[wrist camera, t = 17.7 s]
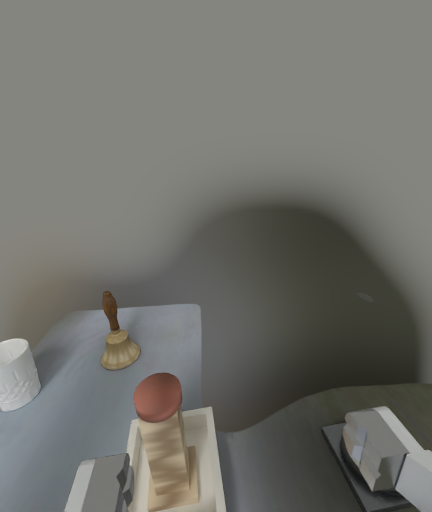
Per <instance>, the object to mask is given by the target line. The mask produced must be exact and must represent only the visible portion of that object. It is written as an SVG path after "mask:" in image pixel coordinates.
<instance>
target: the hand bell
mask: <svg viewBox="0 0 432 512" xmlns="http://www.w3.org/2000/svg"><path fill="white" fill-rule="evenodd" d="M102 304H103V310H104V312H105V315H106V316H107V318H108V319H109V322H110V328H111V333H109V334H108V335H107V337H106V351H105V352H104V353H103V355H102V357H101V364H102V366H103V367H104V368H106V369H109V370H118V369H122V368H125V367H127V366H129V365H131V364H132V363H134V362H135V361H136V360H137V359H138V357H139V355H140V347H139V346H138V345H137V344H136V343H134V342H132V341H131V340H130V338H129V336H128V333H127V332H126V331H125V330H120V328H119V324H118V321H117V304H116V301H115V299H114V297H113V296H112V294H111V293H110V291H106V292H104V293H103V302H102Z"/></svg>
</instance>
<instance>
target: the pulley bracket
mask: <svg viewBox="0 0 432 512" xmlns="http://www.w3.org/2000/svg"><path fill="white" fill-rule="evenodd" d="M346 424H347V422H346V423H341V424H335V425H330V426H324V427H322V430H321V432H322V434H323V436H324V437H325V439H326V441H327V443H328V445H329V447H330V449H331V451H332V453H333V455H334V457H335V458H336V460H337V462H338V464H339V466H340V468H341V470H342V472H343V474H344V476H345V478H346V479H347V481H348V483H349V485H350V487H351V489H352V491H353V493H354V495H355V497H356V499H357V500H358V502H359V504H360V506H361V508H362V510H363V512H390V511H394V510H398V509H403V508H407V507H411V506H414V505H413V504H412V503H411V502H409V501H408V500H407V499H406V498H405V497H404V496H403V495H401V494H400V493H399V492H398V491H397V490H396V489H395V488H396V487H395V488H389V489H384V490H378V491H373V492H372V490H371V489H370V487H369V485H368V483H367V482H366V480H365V478H364V477H363V475H362V473H361V472H360V468H359V461H357V460H356V459H355V458H353V457H352V456H351V454H350V453H349V451H348V449H347V447H346V444H345V442H344V438H343V427H344V426H345V425H346Z"/></svg>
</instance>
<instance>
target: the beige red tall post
mask: <svg viewBox="0 0 432 512" xmlns="http://www.w3.org/2000/svg"><path fill="white" fill-rule="evenodd" d="M134 403H135V407H136V412H137V414H138V416H139V420H138V422H139V426H140V430H141V435H142V439H143V443H144V447H145V451H146V455H147V459H148V463H149V468H150V480H149V491H148V503H147V510H148V512H156V511H161V510H166V509H170V508H175V507H180V506H185V505H190V504H195V503H199V495H198V479H197V463H196V448H195V446H190V447H187V442H186V436H185V429H184V422H183V416H182V409H181V403H182V392H181V385H180V382H179V380H178V379H177V377H175V376H174V375H172V374H169V373H157V374H153V375H151V376H149V377H147V378H145V379H144V380H143V381H142V382H141V383H140V384H139V385H138V386H137V388H136V390H135V392H134Z"/></svg>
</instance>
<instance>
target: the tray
mask: <svg viewBox="0 0 432 512" xmlns="http://www.w3.org/2000/svg"><path fill="white" fill-rule="evenodd" d="M182 416H183V422H184V429H185V436H186V442H187V447H190V446H195V448H196V463H197V479H198V495H199V503H195V504H190V505H185V506H180V507H175V508H170V509H166V510H161V511H156V512H226V506H225V499H224V492H223V484H222V477H221V470H220V462H219V455H218V448H217V441H216V433H215V427H214V419H213V413H212V407H206V408H200V409H194V410H188V411H182ZM138 420H139V419H134V420H132V421H131V427H130V433H129V438H128V444H127V450H126V453H128V454H129V457H130V463H129V465H130V466H132V467H133V471H134V494H133V500H132V502H131V503H130V505H129V507H128V511H129V512H148V510H147V503H148V491H149V480H150V468H149V463H148V459H147V455H146V451H145V447H144V443H143V439H142V435H141V430H140V426H139V422H138Z"/></svg>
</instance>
